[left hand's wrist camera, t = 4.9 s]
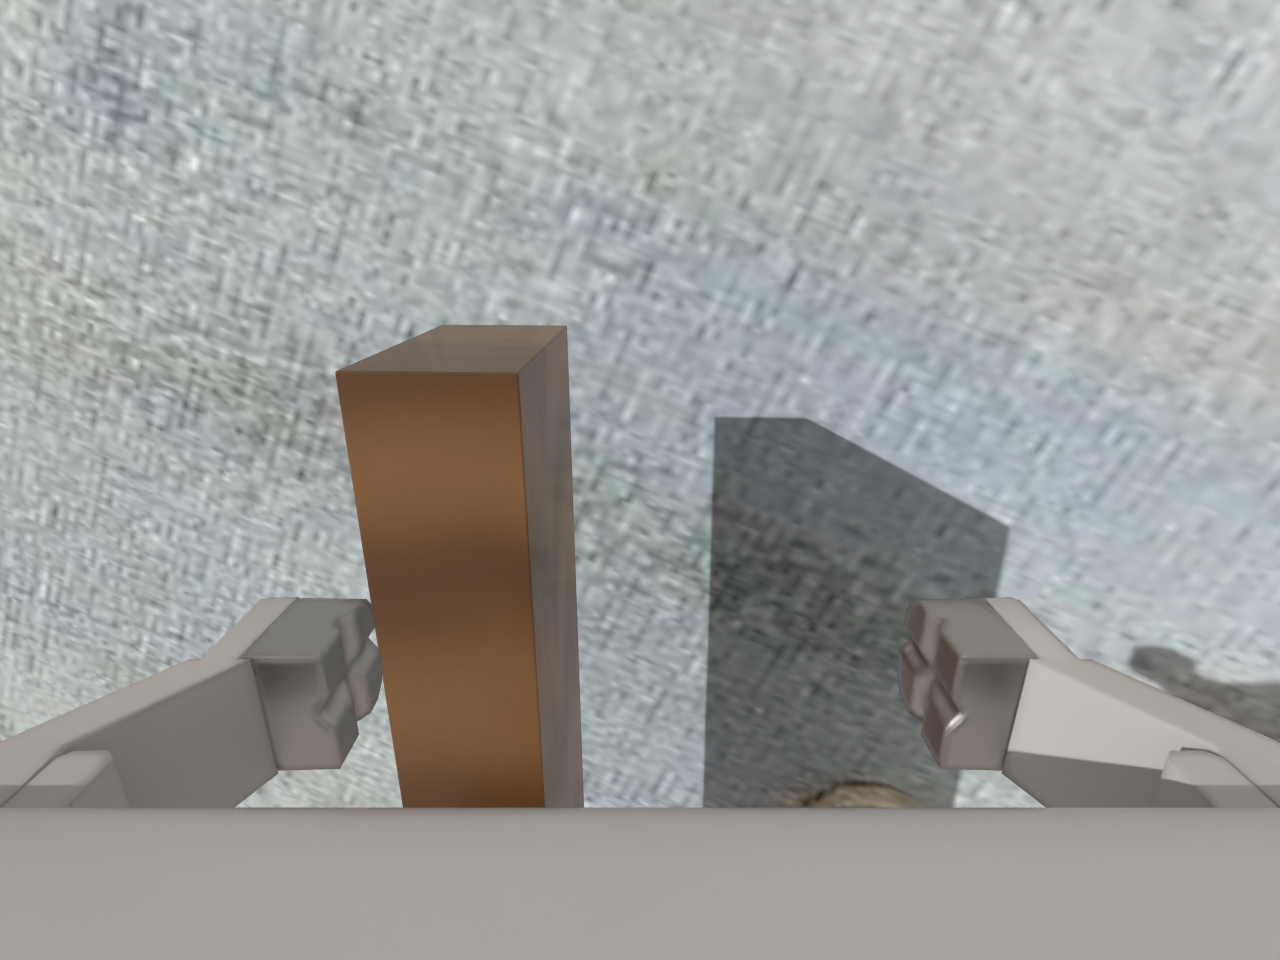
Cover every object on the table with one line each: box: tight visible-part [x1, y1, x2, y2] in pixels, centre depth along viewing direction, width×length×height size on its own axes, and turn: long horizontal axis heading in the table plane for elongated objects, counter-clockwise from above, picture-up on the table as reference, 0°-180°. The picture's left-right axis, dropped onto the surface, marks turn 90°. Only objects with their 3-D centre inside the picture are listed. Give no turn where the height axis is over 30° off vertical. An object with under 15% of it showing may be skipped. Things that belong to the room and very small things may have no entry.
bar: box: [335, 325, 584, 808], centre depth 26 cm, size 28×5×9 cm, turn 0°
